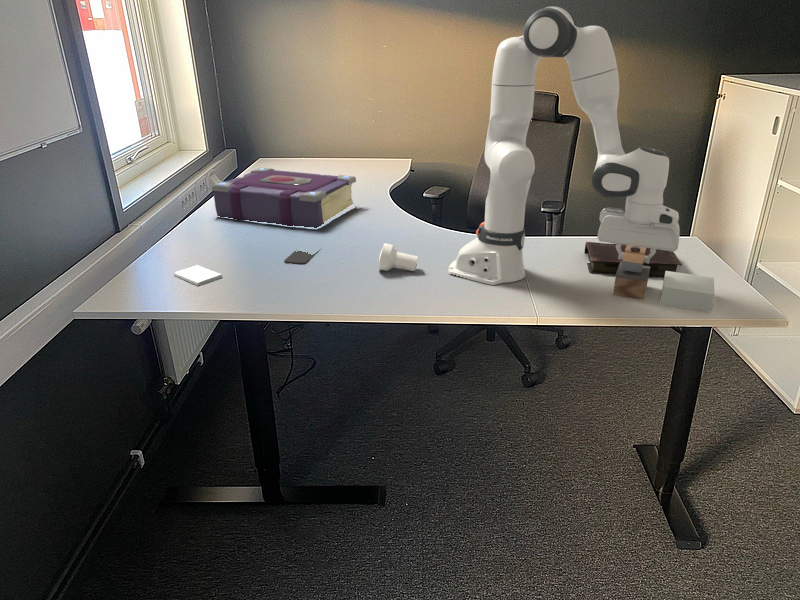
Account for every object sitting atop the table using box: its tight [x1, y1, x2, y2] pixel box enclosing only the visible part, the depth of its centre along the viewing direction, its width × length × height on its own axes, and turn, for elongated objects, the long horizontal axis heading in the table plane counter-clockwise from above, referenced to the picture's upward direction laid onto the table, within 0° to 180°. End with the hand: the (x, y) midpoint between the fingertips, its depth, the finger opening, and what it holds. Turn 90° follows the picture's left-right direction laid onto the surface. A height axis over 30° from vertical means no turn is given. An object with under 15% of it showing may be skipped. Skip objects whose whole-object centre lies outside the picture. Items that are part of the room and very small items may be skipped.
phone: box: [283, 250, 314, 265], centre depth 194 cm, size 7×1×15 cm
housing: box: [621, 245, 646, 273], centre depth 163 cm, size 5×7×5 cm
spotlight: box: [378, 242, 419, 272], centre depth 181 cm, size 8×11×8 cm
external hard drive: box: [173, 264, 223, 287], centre depth 178 cm, size 2×8×12 cm
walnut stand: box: [612, 262, 650, 301], centre depth 166 cm, size 8×10×6 cm
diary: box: [583, 241, 683, 279], centre depth 184 cm, size 19×25×5 cm
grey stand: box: [659, 271, 716, 313], centre depth 161 cm, size 12×12×5 cm
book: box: [211, 167, 357, 228], centre depth 234 cm, size 33×45×14 cm
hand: (633, 261), depth 164 cm, fingers closed on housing, 5 cm apart
